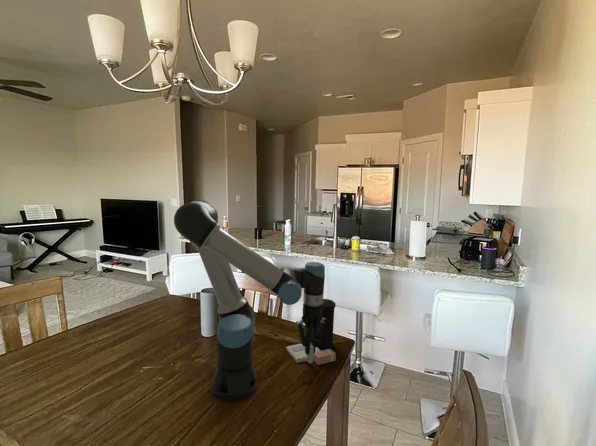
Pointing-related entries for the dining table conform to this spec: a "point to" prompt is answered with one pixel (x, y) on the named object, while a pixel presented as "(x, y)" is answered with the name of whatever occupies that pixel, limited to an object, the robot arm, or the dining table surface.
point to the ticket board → (298, 352)
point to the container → (327, 324)
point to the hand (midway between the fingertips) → (309, 361)
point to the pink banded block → (324, 356)
